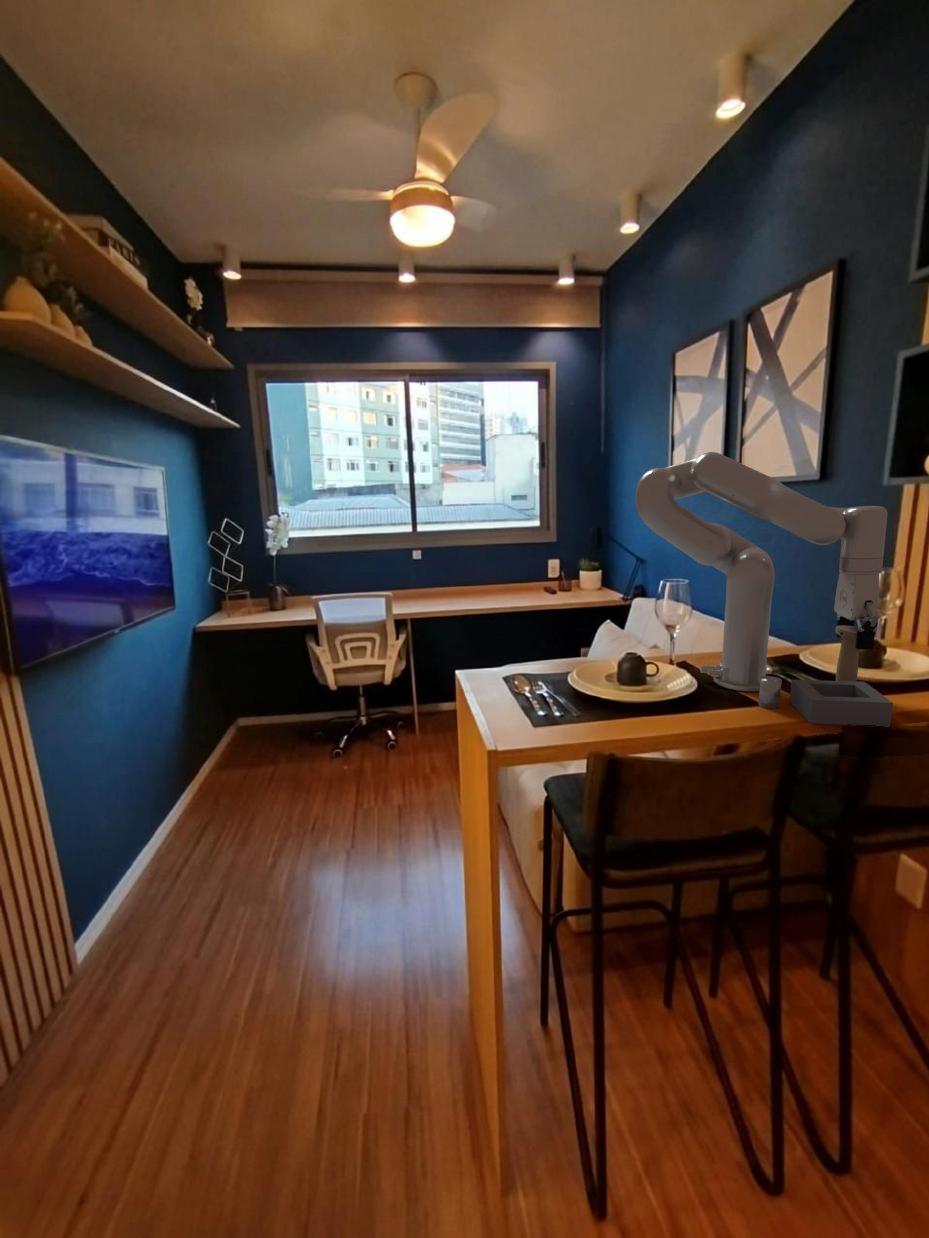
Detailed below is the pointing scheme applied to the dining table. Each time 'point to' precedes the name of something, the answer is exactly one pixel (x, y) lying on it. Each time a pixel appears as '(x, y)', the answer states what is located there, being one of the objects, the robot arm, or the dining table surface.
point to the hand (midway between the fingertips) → (853, 642)
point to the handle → (847, 654)
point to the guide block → (840, 703)
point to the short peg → (769, 692)
